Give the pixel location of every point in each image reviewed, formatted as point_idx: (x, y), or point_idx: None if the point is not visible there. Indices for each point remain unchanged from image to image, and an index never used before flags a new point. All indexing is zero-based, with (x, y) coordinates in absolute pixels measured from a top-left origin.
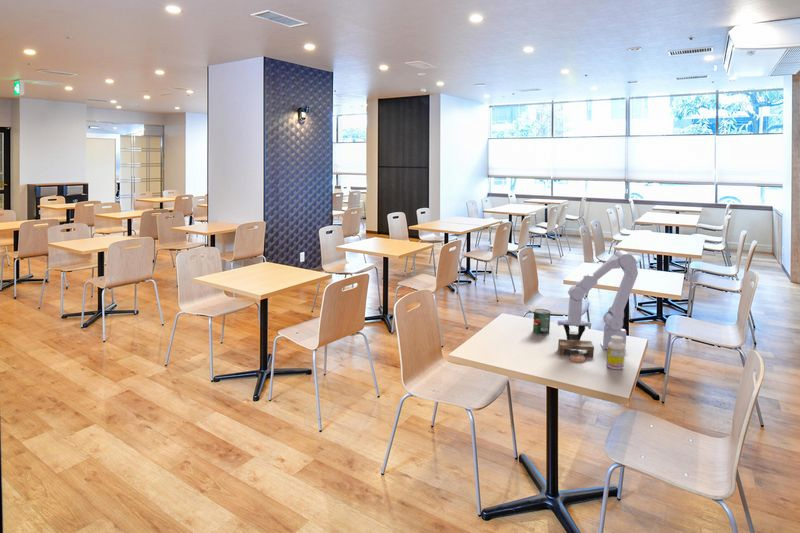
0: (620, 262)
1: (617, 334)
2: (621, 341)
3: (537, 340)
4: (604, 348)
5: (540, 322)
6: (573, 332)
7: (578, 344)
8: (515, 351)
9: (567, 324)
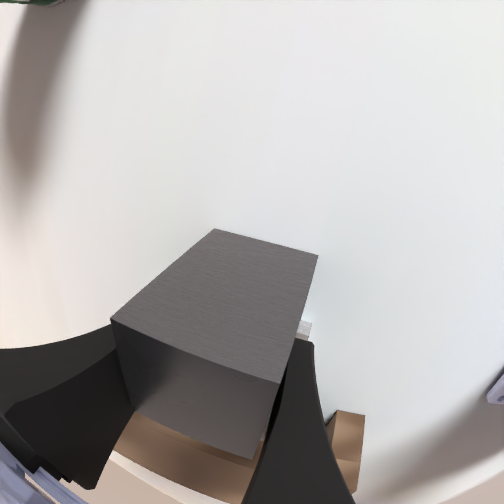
0: None
1: None
2: None
3: (24, 149)
4: (489, 402)
5: None
6: (190, 393)
7: (216, 491)
8: (8, 311)
9: (26, 472)
